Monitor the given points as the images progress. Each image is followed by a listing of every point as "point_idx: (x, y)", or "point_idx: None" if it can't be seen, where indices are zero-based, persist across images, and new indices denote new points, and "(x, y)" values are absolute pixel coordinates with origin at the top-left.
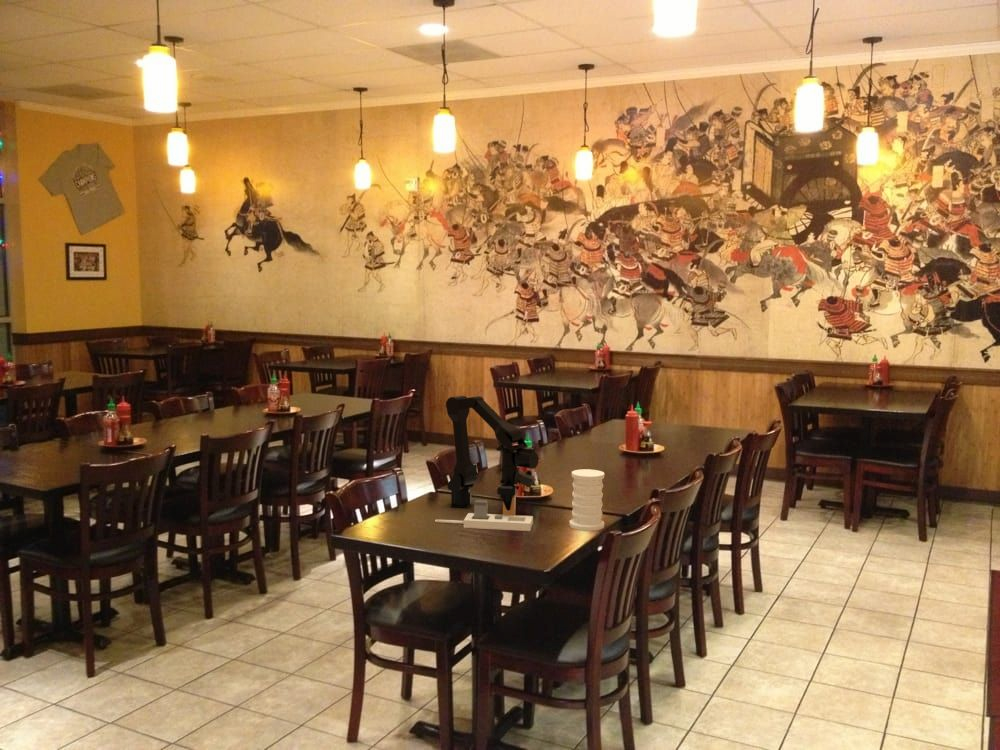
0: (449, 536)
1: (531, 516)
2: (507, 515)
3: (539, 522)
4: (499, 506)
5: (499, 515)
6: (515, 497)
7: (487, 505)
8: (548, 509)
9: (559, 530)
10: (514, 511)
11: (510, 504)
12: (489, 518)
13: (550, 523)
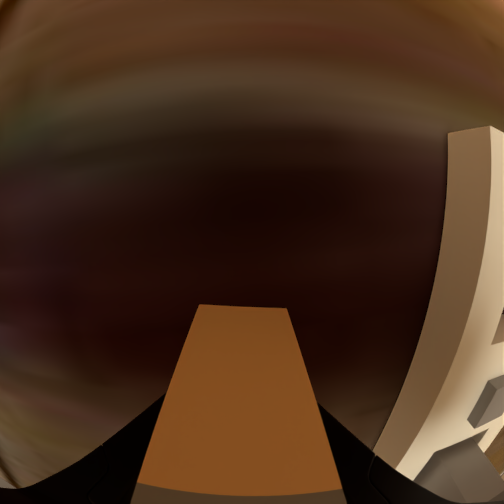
0: (498, 449)
1: (498, 142)
2: (462, 366)
3: (410, 74)
4: (28, 392)
5: (495, 403)
6: (161, 457)
7: (468, 502)
8: (16, 56)
9: (500, 22)
10: (285, 337)
11: (350, 436)
12: (477, 431)
13: (409, 9)
